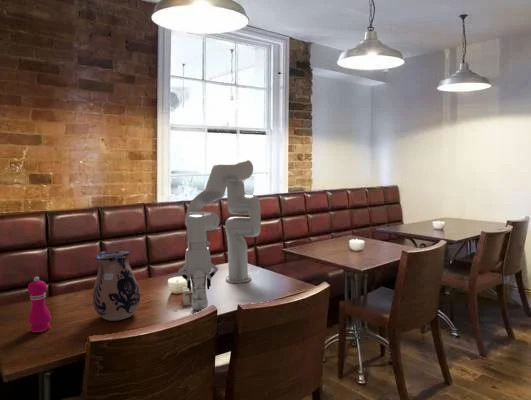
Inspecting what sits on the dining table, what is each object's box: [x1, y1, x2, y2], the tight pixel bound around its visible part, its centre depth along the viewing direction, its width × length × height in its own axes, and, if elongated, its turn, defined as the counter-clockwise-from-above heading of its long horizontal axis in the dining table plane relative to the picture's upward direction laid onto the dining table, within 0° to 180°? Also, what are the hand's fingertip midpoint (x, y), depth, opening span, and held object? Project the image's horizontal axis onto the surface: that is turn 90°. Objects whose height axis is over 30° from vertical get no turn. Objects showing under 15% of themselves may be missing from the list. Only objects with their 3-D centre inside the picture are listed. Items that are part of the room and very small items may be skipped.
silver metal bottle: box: [190, 270, 209, 312], centre depth 170 cm, size 6×7×20 cm
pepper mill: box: [27, 276, 52, 332], centre depth 153 cm, size 7×7×20 cm
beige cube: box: [182, 285, 193, 306], centre depth 179 cm, size 6×6×6 cm
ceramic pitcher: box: [92, 250, 141, 322], centre depth 165 cm, size 18×21×25 cm
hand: (199, 288), depth 170 cm, fingers open, 6 cm apart
